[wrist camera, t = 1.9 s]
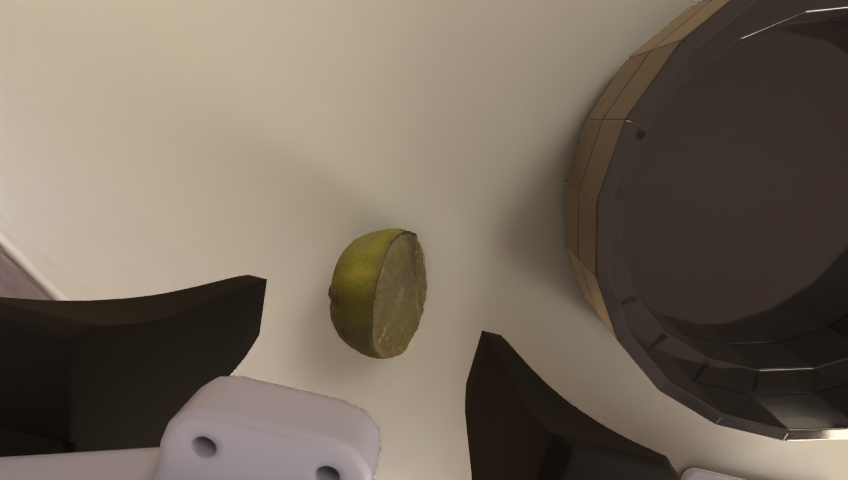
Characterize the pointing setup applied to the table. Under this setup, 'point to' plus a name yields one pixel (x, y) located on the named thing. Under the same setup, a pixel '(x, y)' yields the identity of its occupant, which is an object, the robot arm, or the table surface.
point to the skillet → (726, 214)
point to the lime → (379, 292)
